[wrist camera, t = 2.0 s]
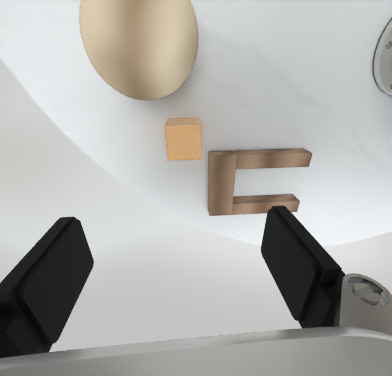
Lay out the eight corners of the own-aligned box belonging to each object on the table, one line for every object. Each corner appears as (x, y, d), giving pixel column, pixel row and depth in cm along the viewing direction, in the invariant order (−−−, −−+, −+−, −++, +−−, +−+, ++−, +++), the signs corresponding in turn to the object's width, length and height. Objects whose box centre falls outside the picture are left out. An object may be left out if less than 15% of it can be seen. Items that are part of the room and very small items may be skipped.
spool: (190, 13, 24) (197, -44, 14) (192, 94, 28) (198, 99, 18) (116, 12, 24) (62, -47, 13) (128, 95, 28) (95, 101, 17)
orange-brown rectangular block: (197, 118, 30) (201, 125, 25) (198, 147, 32) (201, 159, 27) (167, 118, 30) (164, 125, 24) (170, 148, 32) (167, 160, 26)
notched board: (303, 148, 33) (312, 153, 31) (290, 204, 38) (296, 211, 36) (208, 151, 32) (210, 156, 30) (207, 208, 37) (209, 215, 35)
